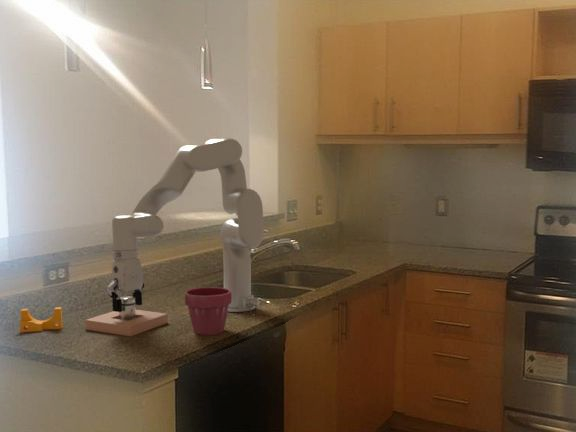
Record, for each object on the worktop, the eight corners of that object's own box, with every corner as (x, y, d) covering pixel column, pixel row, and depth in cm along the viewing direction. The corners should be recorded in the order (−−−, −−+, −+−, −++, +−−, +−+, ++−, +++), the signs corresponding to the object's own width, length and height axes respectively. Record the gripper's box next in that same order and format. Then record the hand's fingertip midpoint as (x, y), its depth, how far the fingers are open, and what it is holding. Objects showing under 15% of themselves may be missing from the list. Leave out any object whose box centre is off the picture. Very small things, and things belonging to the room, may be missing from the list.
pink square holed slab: (167, 322, 227) (167, 313, 227) (131, 336, 211) (130, 326, 211) (124, 316, 235) (123, 307, 235) (85, 329, 219) (85, 319, 219)
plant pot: (210, 323, 226) (209, 284, 225) (241, 330, 217) (241, 290, 216) (176, 332, 215) (175, 291, 214) (207, 340, 206) (206, 298, 205)
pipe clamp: (20, 332, 216) (19, 312, 216) (22, 328, 221) (22, 308, 220) (60, 330, 219) (60, 310, 218) (62, 327, 223) (61, 307, 222)
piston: (139, 325, 224) (139, 297, 224) (128, 329, 220) (128, 300, 219) (126, 323, 227) (125, 295, 226) (115, 326, 222) (114, 299, 221)
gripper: (116, 259, 212) (118, 315, 213) (152, 251, 227) (154, 303, 229) (97, 258, 215) (99, 312, 217) (134, 250, 230) (136, 301, 232)
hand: (127, 308), depth 223 cm, fingers open, 9 cm apart
